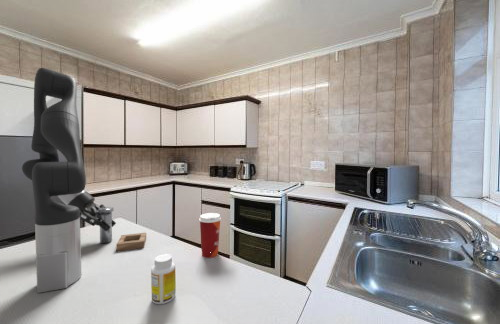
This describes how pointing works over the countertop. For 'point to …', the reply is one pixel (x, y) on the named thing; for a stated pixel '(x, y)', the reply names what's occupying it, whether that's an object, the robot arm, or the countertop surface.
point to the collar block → (131, 241)
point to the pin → (107, 217)
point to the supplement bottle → (163, 279)
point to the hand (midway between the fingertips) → (111, 227)
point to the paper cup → (210, 234)
